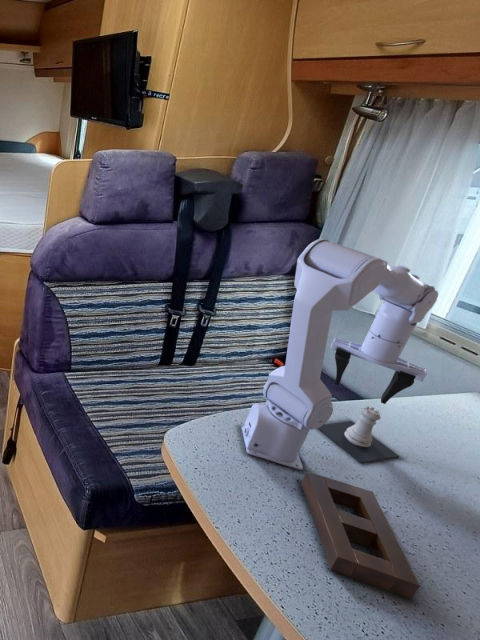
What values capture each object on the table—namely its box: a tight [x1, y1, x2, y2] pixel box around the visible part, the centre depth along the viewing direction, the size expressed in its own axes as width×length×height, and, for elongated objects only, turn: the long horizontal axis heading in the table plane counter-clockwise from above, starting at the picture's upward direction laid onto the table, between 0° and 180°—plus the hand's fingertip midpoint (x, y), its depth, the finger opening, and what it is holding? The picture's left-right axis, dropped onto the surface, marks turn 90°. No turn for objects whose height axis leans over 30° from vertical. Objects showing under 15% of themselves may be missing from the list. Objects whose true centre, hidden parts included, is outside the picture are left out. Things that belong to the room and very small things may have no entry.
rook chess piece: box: [344, 405, 382, 447], centre depth 95 cm, size 4×4×8 cm
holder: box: [300, 471, 421, 600], centre depth 75 cm, size 10×17×3 cm, turn 158°
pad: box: [317, 420, 400, 464], centre depth 96 cm, size 10×10×1 cm
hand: (359, 391), depth 95 cm, fingers open, 7 cm apart
